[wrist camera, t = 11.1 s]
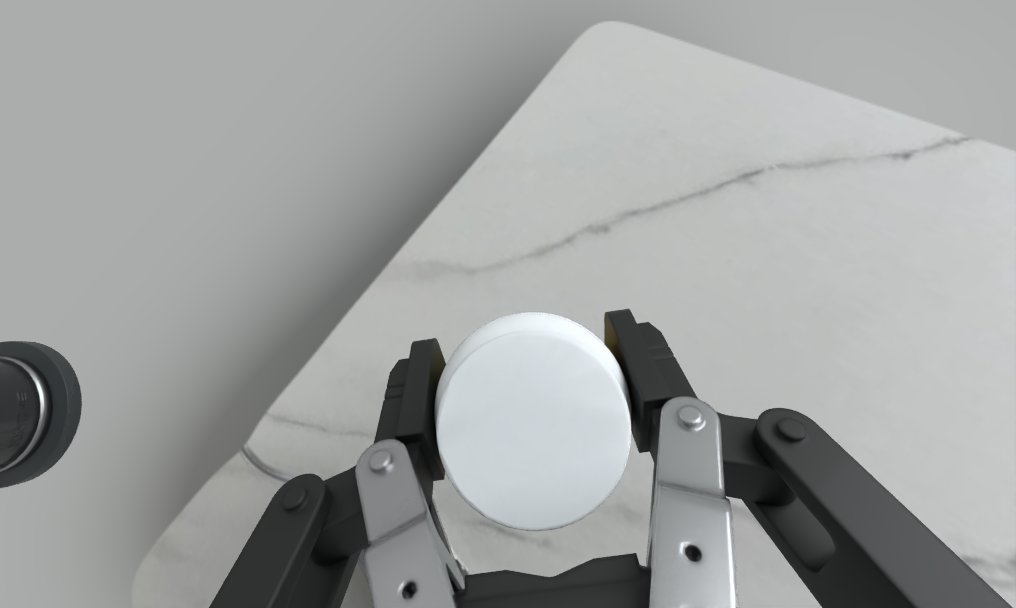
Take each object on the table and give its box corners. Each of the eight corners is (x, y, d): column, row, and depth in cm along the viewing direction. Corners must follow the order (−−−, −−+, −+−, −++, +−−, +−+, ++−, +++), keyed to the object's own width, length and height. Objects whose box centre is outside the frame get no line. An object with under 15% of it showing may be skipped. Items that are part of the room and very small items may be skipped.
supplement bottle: (485, 316, 18) (433, 272, 9) (604, 341, 18) (689, 323, 8) (459, 436, 18) (370, 534, 8) (581, 465, 17) (643, 605, 8)
